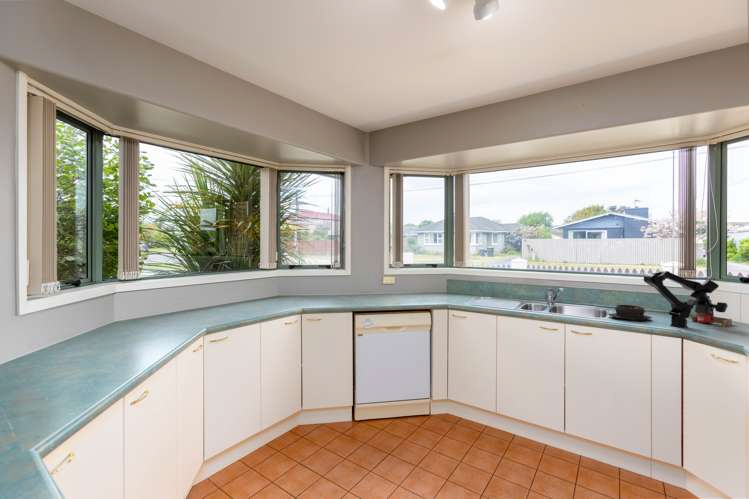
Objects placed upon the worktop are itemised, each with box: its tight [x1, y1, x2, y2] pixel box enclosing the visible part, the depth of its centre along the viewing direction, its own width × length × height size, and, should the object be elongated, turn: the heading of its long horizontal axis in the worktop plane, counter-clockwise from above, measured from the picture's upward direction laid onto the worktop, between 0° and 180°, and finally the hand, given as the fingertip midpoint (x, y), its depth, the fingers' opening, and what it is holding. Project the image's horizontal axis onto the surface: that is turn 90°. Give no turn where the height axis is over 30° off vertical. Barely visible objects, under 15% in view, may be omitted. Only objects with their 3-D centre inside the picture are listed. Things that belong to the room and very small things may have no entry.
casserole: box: [608, 304, 653, 321], centre depth 236 cm, size 25×19×8 cm
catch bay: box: [691, 314, 733, 328], centre depth 223 cm, size 12×16×4 cm
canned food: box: [696, 310, 715, 324], centre depth 223 cm, size 8×8×11 cm
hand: (710, 314), depth 219 cm, fingers closed
